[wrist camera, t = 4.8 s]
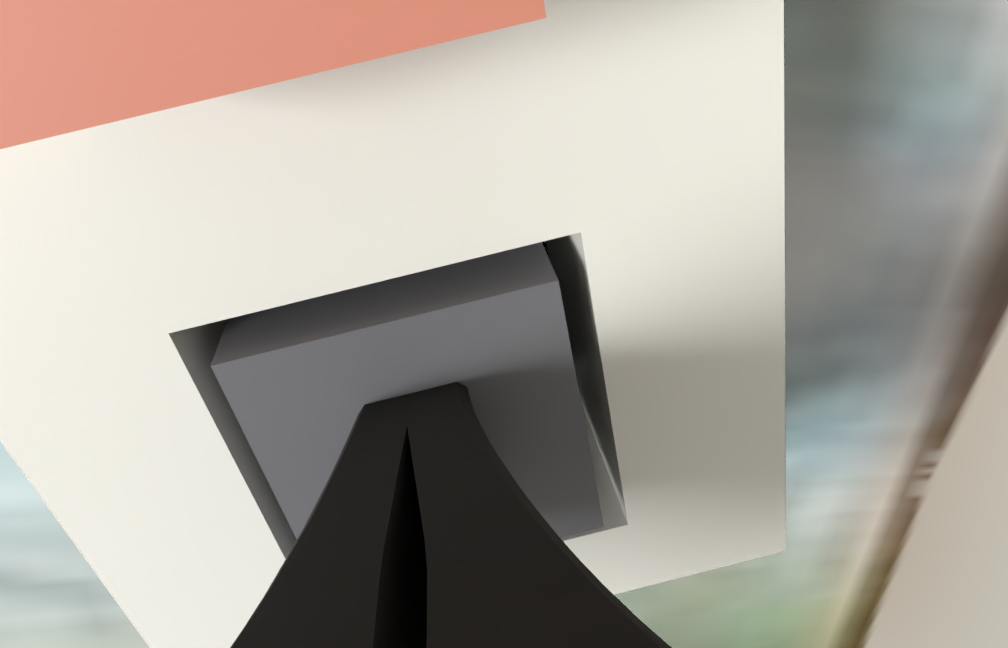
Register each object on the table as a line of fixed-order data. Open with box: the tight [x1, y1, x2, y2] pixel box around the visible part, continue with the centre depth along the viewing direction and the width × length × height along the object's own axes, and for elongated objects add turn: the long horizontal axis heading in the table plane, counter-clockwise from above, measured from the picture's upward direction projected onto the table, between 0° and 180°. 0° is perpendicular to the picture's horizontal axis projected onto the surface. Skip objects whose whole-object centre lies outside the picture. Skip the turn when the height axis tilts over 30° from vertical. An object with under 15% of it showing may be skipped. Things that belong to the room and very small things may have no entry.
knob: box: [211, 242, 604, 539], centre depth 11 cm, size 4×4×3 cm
